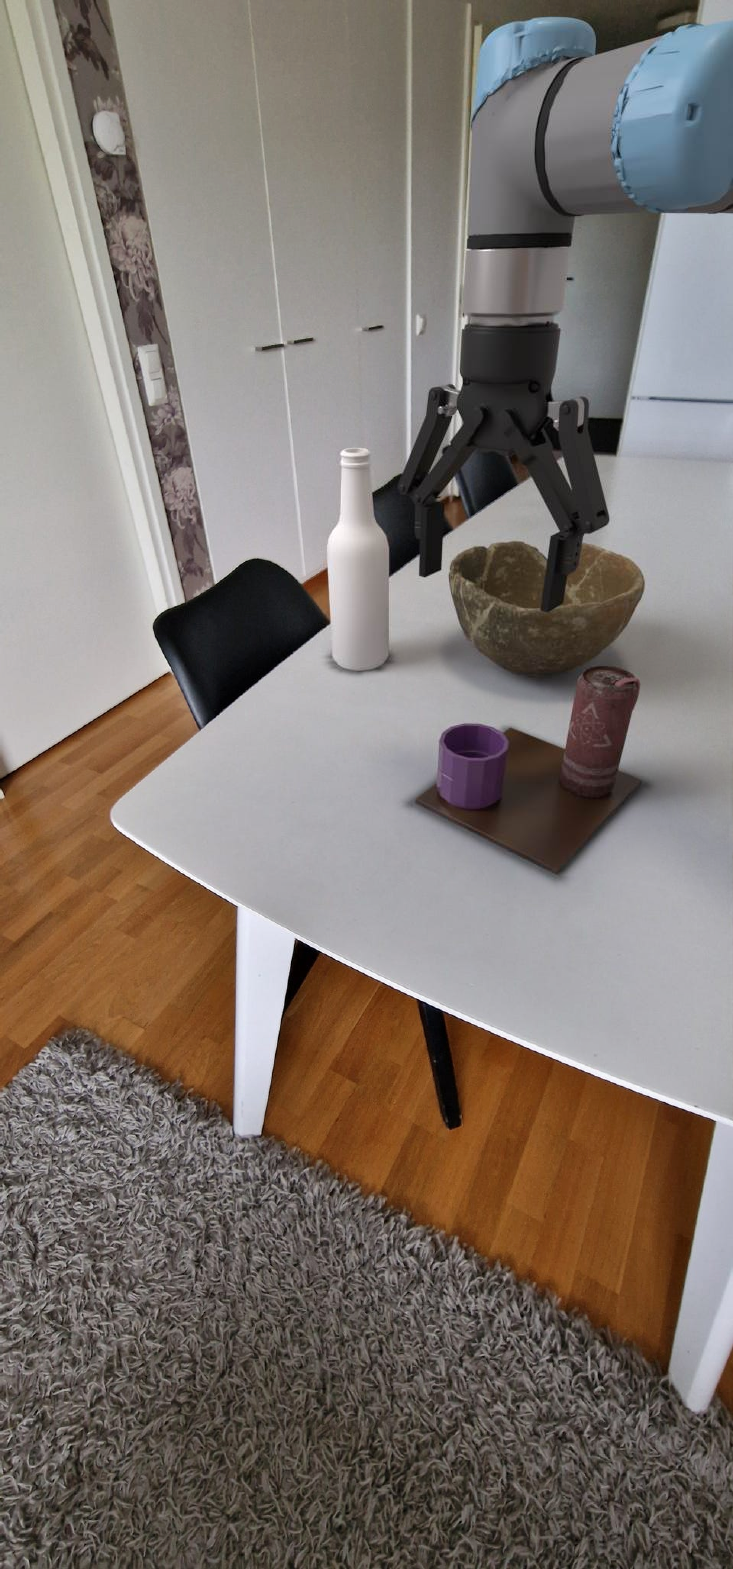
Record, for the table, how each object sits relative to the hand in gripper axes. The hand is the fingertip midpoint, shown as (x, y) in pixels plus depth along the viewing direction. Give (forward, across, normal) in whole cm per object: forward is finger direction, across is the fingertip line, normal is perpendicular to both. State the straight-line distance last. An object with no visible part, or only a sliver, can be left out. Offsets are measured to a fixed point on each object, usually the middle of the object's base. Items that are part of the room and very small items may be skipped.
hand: (487, 589), depth 66 cm
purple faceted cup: (+24, 0, 0) cm, 24 cm away
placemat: (+25, -5, -5) cm, 26 cm away
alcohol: (+25, +33, -18) cm, 45 cm away
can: (+24, -10, -10) cm, 28 cm away
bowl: (+25, +12, -34) cm, 44 cm away
